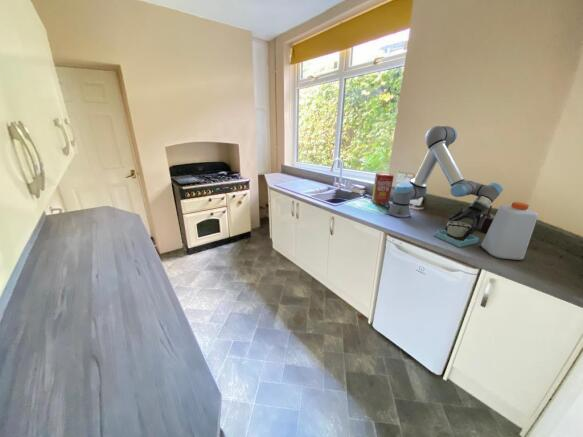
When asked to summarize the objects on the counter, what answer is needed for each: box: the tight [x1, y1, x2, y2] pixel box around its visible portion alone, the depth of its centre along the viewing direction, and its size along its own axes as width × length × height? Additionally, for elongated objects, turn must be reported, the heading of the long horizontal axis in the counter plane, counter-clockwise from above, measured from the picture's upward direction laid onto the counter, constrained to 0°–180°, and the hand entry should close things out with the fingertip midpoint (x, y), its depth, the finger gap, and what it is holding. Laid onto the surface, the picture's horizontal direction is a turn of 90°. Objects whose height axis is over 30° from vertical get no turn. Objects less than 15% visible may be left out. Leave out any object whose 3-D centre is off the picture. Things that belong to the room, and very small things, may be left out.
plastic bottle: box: [481, 201, 539, 261], centre depth 121 cm, size 15×15×28 cm
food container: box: [446, 220, 473, 241], centre depth 140 cm, size 12×6×10 cm, turn 71°
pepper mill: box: [473, 199, 495, 233], centre depth 156 cm, size 16×11×18 cm
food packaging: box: [371, 172, 394, 205], centre depth 203 cm, size 13×9×25 cm
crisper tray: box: [434, 229, 480, 248], centre depth 140 cm, size 15×16×3 cm
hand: (454, 233), depth 138 cm, fingers closed on food container, 10 cm apart
